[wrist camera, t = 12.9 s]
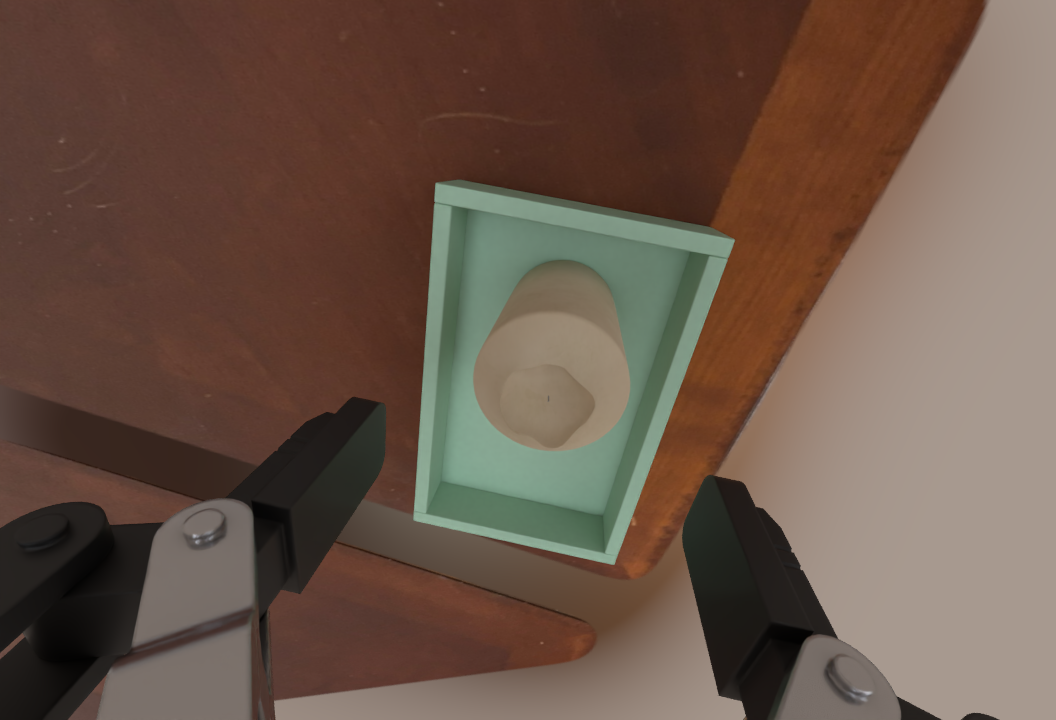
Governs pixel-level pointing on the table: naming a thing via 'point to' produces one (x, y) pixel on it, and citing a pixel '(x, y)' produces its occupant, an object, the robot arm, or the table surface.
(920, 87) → the table surface
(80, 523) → the robot arm
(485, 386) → the candle
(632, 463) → the tray
